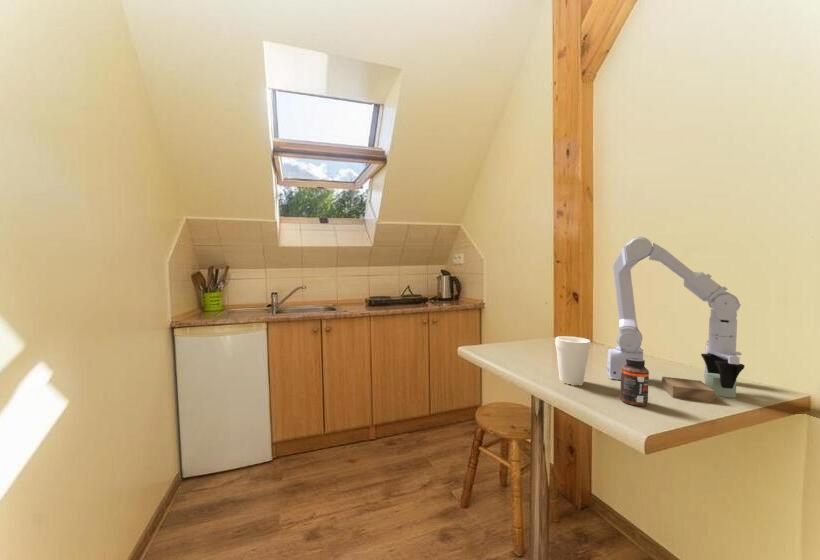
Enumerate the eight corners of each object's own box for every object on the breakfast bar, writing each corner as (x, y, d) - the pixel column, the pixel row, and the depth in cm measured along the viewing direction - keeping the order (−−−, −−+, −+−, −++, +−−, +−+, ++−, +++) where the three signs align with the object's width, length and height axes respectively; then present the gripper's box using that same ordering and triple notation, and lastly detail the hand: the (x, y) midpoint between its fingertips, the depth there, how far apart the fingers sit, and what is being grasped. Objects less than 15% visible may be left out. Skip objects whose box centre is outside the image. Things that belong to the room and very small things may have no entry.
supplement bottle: (648, 409, 84) (650, 363, 84) (620, 403, 87) (621, 359, 87) (647, 401, 89) (648, 358, 89) (620, 396, 92) (621, 354, 92)
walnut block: (672, 399, 92) (673, 386, 92) (661, 388, 100) (662, 376, 100) (714, 404, 89) (715, 391, 89) (699, 392, 97) (700, 380, 97)
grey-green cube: (712, 395, 94) (713, 377, 94) (704, 389, 99) (705, 372, 99) (735, 398, 93) (736, 380, 92) (726, 392, 97) (727, 374, 97)
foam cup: (596, 386, 100) (597, 342, 100) (569, 388, 98) (570, 343, 97) (573, 376, 109) (574, 335, 109) (547, 378, 107) (549, 336, 107)
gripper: (755, 341, 87) (753, 394, 87) (728, 332, 100) (726, 378, 101) (720, 339, 90) (718, 390, 90) (698, 330, 103) (696, 375, 103)
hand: (720, 383), depth 96 cm, fingers open, 7 cm apart
